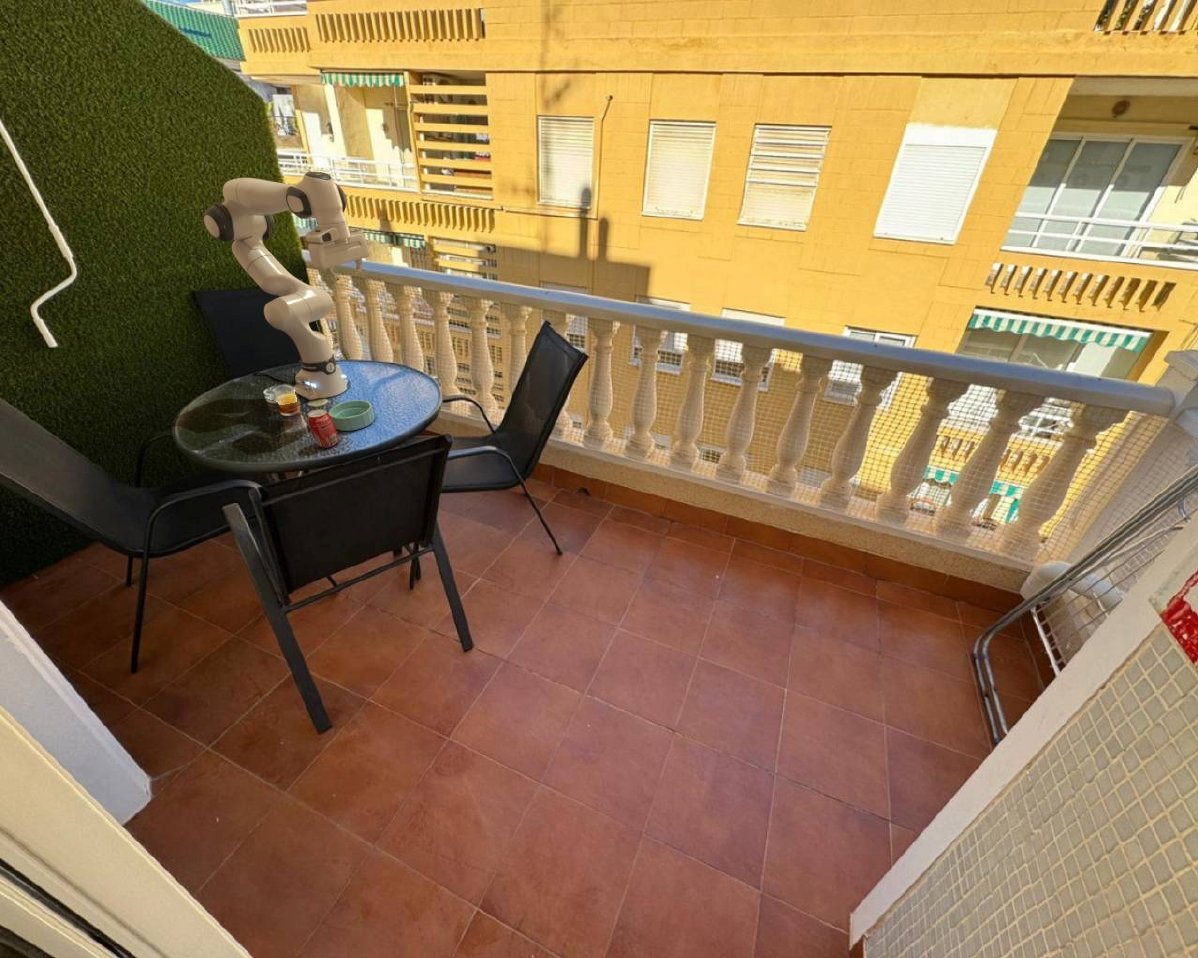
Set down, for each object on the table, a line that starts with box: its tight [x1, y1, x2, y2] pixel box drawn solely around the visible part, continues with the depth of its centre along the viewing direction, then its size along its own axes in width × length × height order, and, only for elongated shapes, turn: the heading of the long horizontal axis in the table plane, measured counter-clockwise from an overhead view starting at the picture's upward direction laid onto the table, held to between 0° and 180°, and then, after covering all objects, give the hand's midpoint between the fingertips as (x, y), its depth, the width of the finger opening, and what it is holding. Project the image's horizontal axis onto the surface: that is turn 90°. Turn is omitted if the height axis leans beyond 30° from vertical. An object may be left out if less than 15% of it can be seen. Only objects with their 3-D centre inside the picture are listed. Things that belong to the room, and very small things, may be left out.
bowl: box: [328, 399, 376, 432], centre depth 182 cm, size 14×14×6 cm
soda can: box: [307, 408, 340, 449], centre depth 168 cm, size 7×7×12 cm
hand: (347, 277), depth 167 cm, fingers open, 8 cm apart
